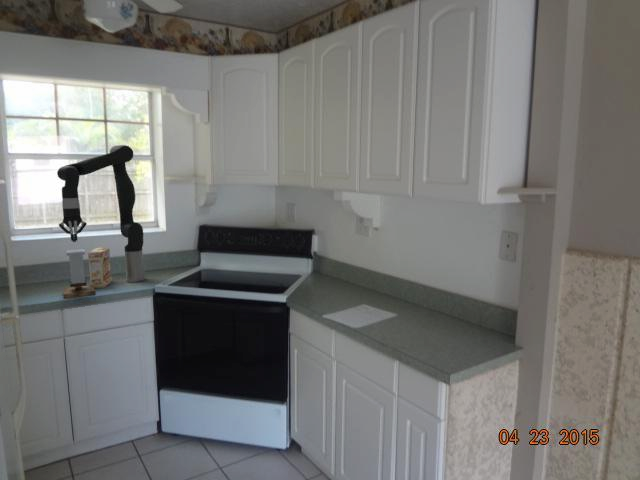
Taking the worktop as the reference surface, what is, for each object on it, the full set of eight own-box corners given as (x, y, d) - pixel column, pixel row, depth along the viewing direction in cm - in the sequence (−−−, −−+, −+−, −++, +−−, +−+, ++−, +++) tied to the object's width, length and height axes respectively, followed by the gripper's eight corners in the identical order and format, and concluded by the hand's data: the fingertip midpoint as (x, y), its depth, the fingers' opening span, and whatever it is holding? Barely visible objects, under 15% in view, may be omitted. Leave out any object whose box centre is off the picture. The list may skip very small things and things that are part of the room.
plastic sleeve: (86, 279, 240) (84, 249, 238) (87, 282, 233) (84, 251, 231) (69, 281, 236) (66, 250, 234) (69, 284, 230) (66, 253, 227)
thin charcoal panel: (85, 282, 240) (85, 279, 240) (86, 285, 234) (86, 282, 233) (70, 284, 236) (69, 281, 236) (70, 287, 230) (70, 284, 230)
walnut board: (93, 288, 245) (93, 284, 245) (95, 294, 233) (94, 290, 233) (63, 291, 238) (63, 288, 238) (63, 298, 226) (63, 294, 226)
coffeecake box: (104, 287, 247) (101, 251, 243) (90, 288, 245) (87, 252, 242) (112, 281, 261) (110, 247, 258) (99, 281, 260) (96, 247, 257)
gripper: (85, 205, 235) (88, 239, 238) (56, 207, 229) (59, 241, 232) (86, 207, 229) (89, 241, 231) (55, 208, 222) (59, 243, 225)
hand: (74, 241), depth 231 cm, fingers closed
